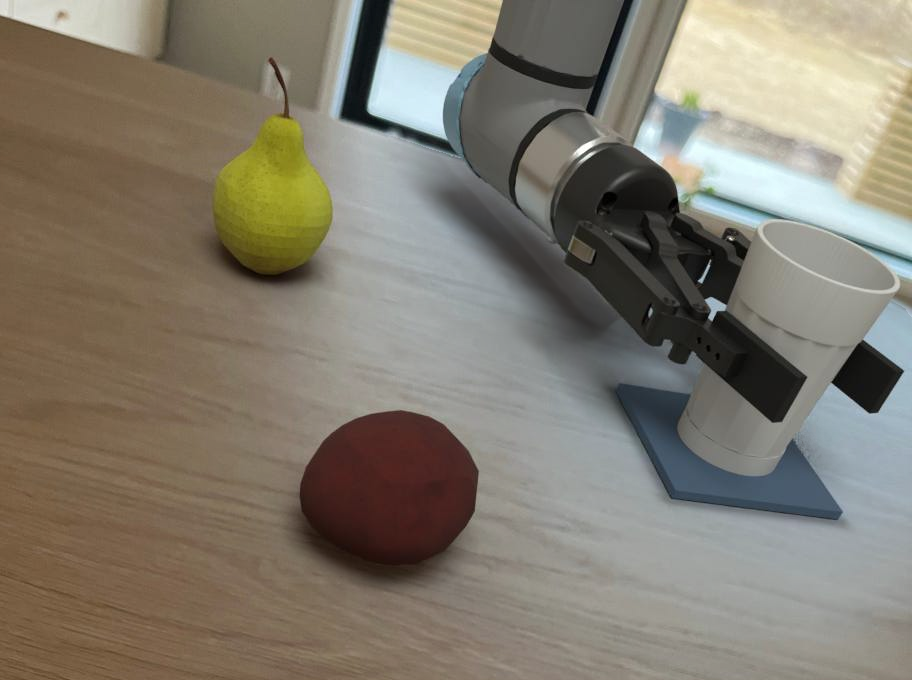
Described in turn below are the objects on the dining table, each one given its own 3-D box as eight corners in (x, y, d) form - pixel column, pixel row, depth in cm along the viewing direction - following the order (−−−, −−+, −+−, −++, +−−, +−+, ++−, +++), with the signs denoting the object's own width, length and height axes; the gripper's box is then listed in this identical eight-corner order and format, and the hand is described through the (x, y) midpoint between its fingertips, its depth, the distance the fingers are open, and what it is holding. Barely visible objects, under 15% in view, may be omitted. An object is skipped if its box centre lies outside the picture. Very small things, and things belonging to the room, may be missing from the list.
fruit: (289, 240, 68) (324, 41, 60) (338, 293, 65) (382, 89, 57) (190, 240, 65) (213, 28, 57) (236, 296, 61) (268, 78, 53)
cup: (638, 418, 62) (728, 223, 54) (715, 397, 67) (808, 215, 59) (739, 497, 58) (852, 300, 50) (813, 469, 63) (926, 285, 55)
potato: (491, 584, 48) (534, 478, 44) (327, 607, 44) (358, 493, 40) (421, 486, 52) (455, 381, 48) (266, 499, 48) (288, 385, 44)
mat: (766, 414, 68) (770, 407, 68) (838, 519, 61) (843, 511, 60) (615, 390, 65) (618, 382, 65) (671, 498, 58) (675, 489, 57)
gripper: (685, 256, 76) (915, 441, 63) (453, 251, 65) (673, 470, 53) (731, 152, 71) (991, 329, 58) (489, 128, 60) (741, 337, 48)
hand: (839, 395), depth 56 cm, fingers closed on cup, 7 cm apart
